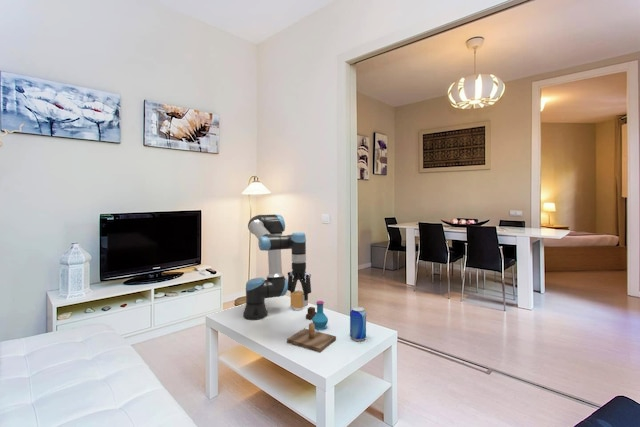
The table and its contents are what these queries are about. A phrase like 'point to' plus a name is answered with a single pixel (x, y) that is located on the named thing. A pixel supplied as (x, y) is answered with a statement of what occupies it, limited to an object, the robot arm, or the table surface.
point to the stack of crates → (310, 313)
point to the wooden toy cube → (297, 299)
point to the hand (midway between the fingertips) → (299, 305)
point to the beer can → (358, 324)
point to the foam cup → (295, 307)
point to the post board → (311, 339)
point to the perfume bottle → (320, 317)
